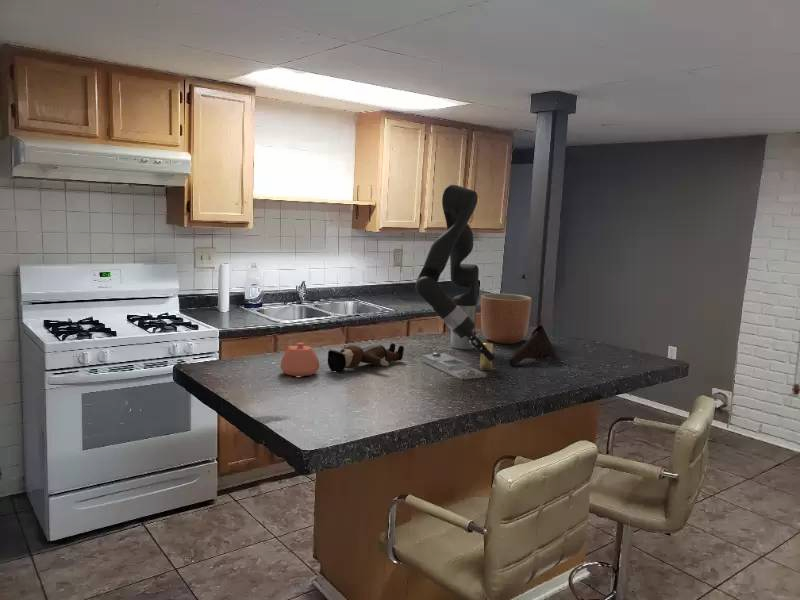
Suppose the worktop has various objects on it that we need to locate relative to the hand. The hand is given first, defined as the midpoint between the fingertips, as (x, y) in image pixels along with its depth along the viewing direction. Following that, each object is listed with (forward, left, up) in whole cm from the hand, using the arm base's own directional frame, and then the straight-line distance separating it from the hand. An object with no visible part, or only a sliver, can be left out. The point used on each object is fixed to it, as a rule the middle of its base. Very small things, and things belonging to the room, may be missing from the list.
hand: (491, 357), depth 218 cm
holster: (-6, +23, -5) cm, 24 cm away
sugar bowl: (-17, -64, -4) cm, 66 cm away
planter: (-39, +34, -4) cm, 52 cm away
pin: (-1, -2, -4) cm, 5 cm away
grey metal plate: (-5, -13, -4) cm, 14 cm away
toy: (-18, -39, -5) cm, 43 cm away
